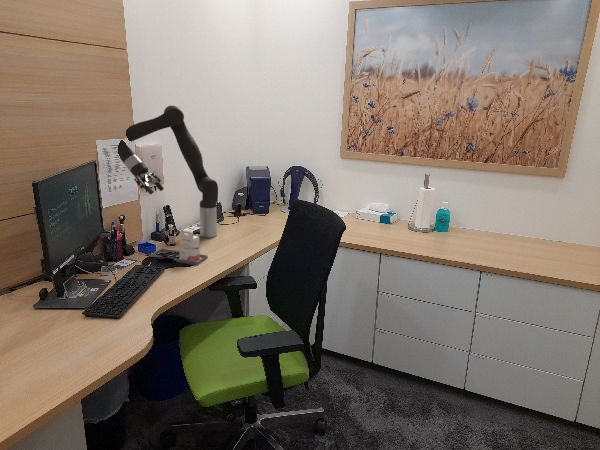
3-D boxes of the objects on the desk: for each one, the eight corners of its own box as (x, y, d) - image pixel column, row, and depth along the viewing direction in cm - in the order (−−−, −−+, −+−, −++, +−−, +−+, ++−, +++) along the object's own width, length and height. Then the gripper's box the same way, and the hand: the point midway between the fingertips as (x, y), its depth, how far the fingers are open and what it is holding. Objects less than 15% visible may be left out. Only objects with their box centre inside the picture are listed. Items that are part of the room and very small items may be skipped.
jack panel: (162, 251, 222) (161, 248, 221) (207, 258, 215) (207, 255, 215) (150, 257, 212) (149, 254, 212) (197, 265, 206) (197, 262, 205)
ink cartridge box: (200, 259, 213) (199, 230, 209) (193, 262, 208) (193, 233, 204) (186, 255, 216) (185, 227, 212) (179, 258, 212) (178, 230, 208)
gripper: (131, 163, 206) (153, 189, 207) (149, 159, 220) (170, 184, 220) (122, 173, 209) (144, 199, 209) (140, 169, 222) (161, 193, 223)
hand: (157, 191), depth 215 cm, fingers open, 8 cm apart
